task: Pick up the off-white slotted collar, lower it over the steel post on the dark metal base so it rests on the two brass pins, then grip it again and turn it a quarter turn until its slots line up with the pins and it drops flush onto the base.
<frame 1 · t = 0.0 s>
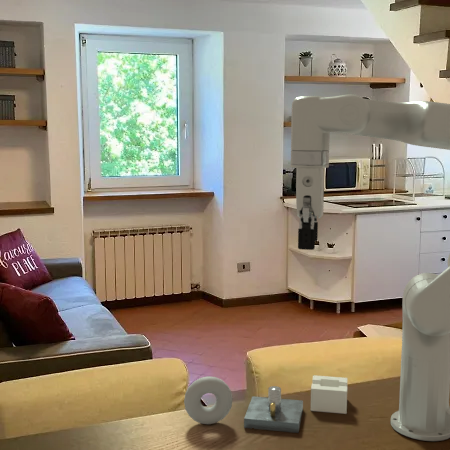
hand: (308, 244, 127), 37 cm above the table, tool pointing down, fingers open, 9 cm apart
post base: (274, 418, 132), on the table
donut: (208, 424, 129), on the table
collar: (329, 404, 138), on the table
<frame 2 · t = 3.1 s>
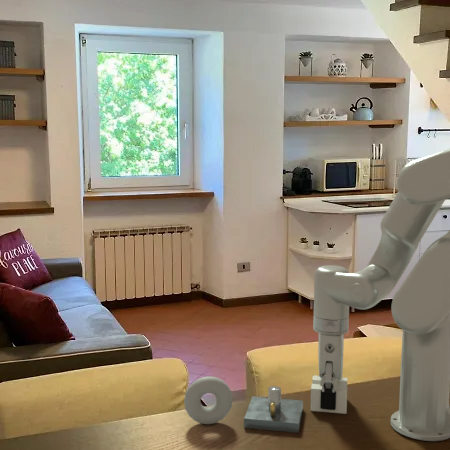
hand: (328, 400, 138), 1 cm above the table, tool pointing down, fingers closed on collar, 7 cm apart
collar: (329, 404, 138), on the table, touching gripper
everything else where it was.
when the fingers open (6 cm above the table, at t = 8.0 s): collar stays where it is, resting on post base.
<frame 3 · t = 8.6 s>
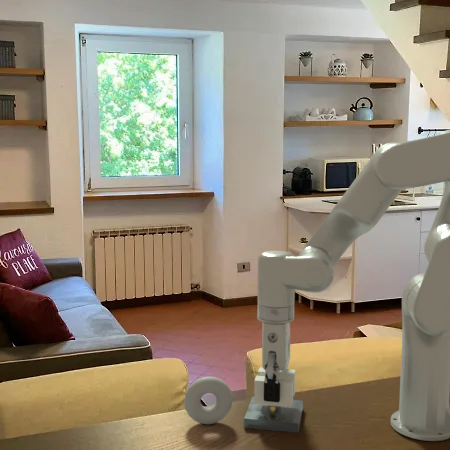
hand: (274, 391, 131), 6 cm above the table, tool pointing down, fingers open, 9 cm apart
collar: (275, 397, 131), point 4 cm above the table, touching post base
everything else where it was.
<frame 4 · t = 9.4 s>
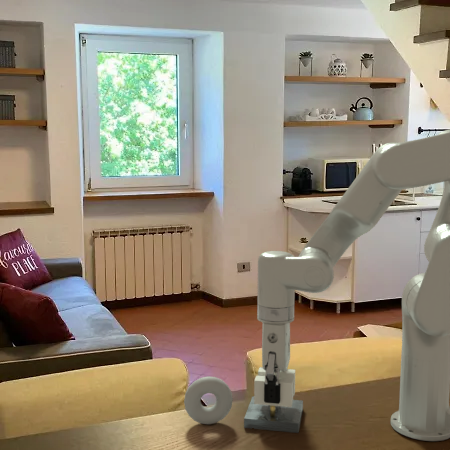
hand: (274, 393, 131), 5 cm above the table, tool pointing down, fingers closed on collar, 7 cm apart
collar: (275, 397, 131), point 5 cm above the table, touching gripper, post base
everything else where it was.
when the fingers open (5 cm above the table, at t = 12.3 s): collar drops 3 cm, resting on post base.
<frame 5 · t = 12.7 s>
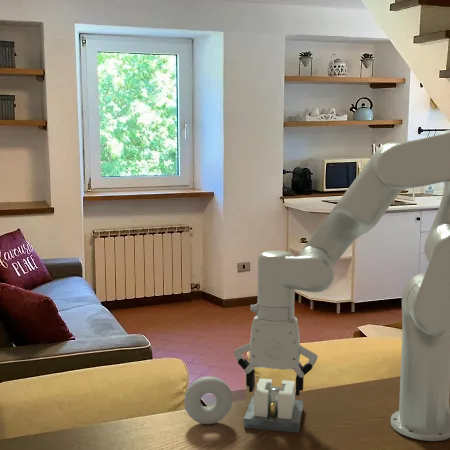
hand: (274, 391, 131), 6 cm above the table, tool pointing down, fingers open, 9 cm apart
collar: (274, 409, 131), point 2 cm above the table, touching post base
everything else where it was.
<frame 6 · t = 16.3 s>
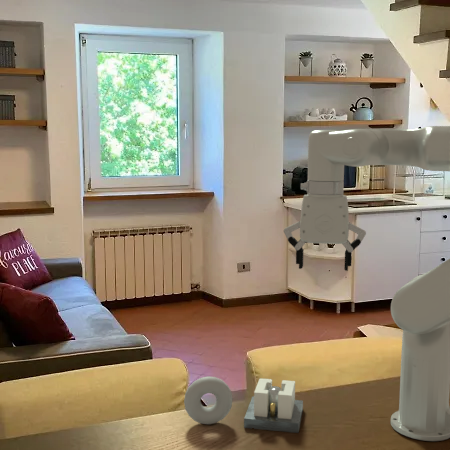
hand: (323, 268, 135), 30 cm above the table, tool pointing down, fingers open, 9 cm apart
nothing on the table moved.
at the end: collar 0.1 cm off-centre on the post base, point 2.0 cm above the post base's base; collar tilted 0°; the gripper is holding nothing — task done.
